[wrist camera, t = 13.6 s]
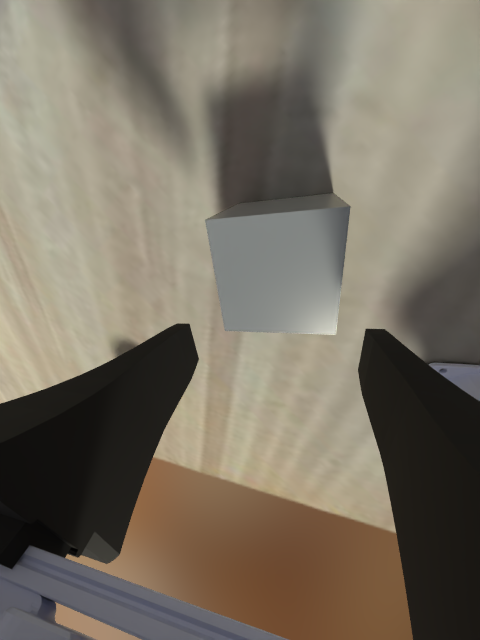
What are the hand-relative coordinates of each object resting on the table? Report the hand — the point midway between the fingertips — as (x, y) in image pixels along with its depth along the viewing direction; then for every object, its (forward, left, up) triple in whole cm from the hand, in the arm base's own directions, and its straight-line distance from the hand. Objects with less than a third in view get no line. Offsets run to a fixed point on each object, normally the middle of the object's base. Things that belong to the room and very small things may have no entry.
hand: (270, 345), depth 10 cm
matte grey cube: (0, -2, -9) cm, 10 cm away
